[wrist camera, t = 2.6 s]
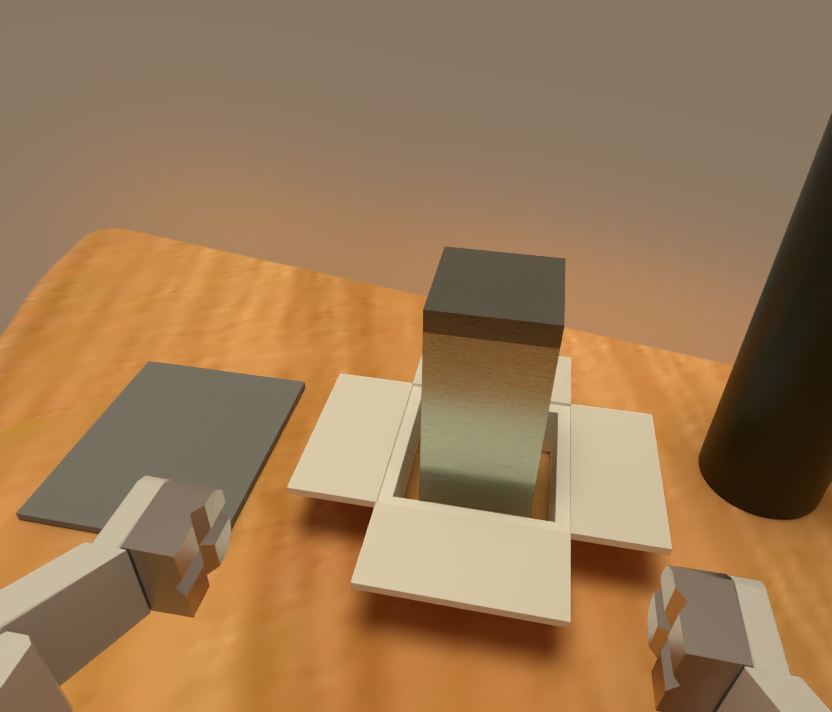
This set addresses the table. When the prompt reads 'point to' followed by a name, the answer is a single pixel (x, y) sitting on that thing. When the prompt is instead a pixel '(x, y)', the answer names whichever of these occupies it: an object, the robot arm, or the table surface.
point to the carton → (474, 529)
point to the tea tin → (488, 377)
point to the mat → (168, 442)
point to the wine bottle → (783, 372)
